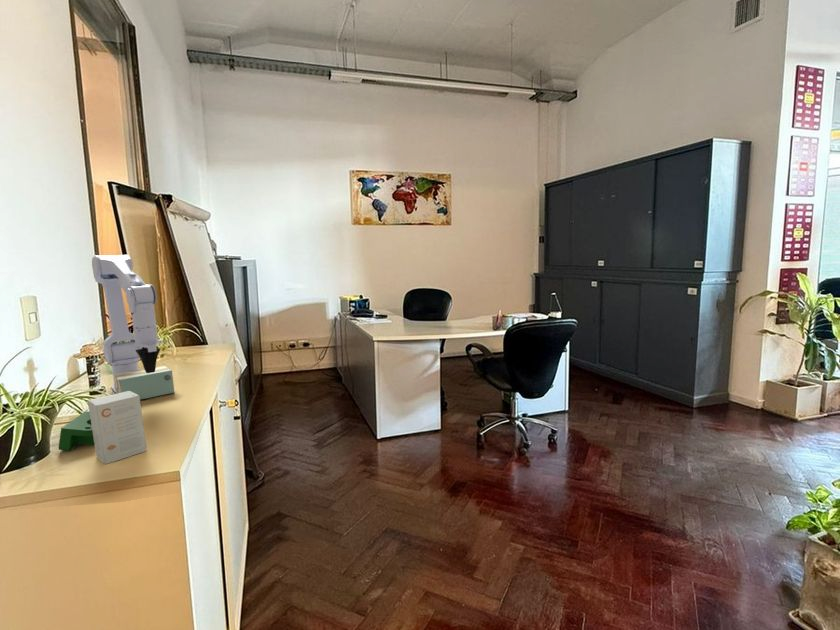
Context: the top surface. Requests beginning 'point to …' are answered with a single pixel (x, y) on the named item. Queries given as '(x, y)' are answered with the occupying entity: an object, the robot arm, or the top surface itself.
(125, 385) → the door
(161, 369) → the cabinet
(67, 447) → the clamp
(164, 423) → the top surface
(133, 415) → the small box
